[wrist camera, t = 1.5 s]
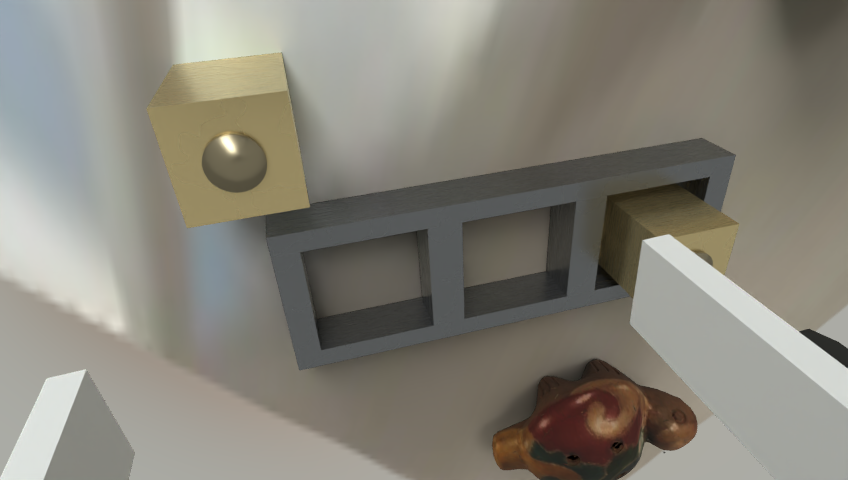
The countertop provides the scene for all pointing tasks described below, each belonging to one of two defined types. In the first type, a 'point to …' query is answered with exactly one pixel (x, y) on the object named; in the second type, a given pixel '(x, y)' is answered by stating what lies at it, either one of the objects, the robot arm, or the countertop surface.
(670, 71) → the countertop surface
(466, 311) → the rack
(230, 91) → the cube with silver knob
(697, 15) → the countertop surface
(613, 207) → the beige framed knobbed block
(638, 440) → the decorative turtle
